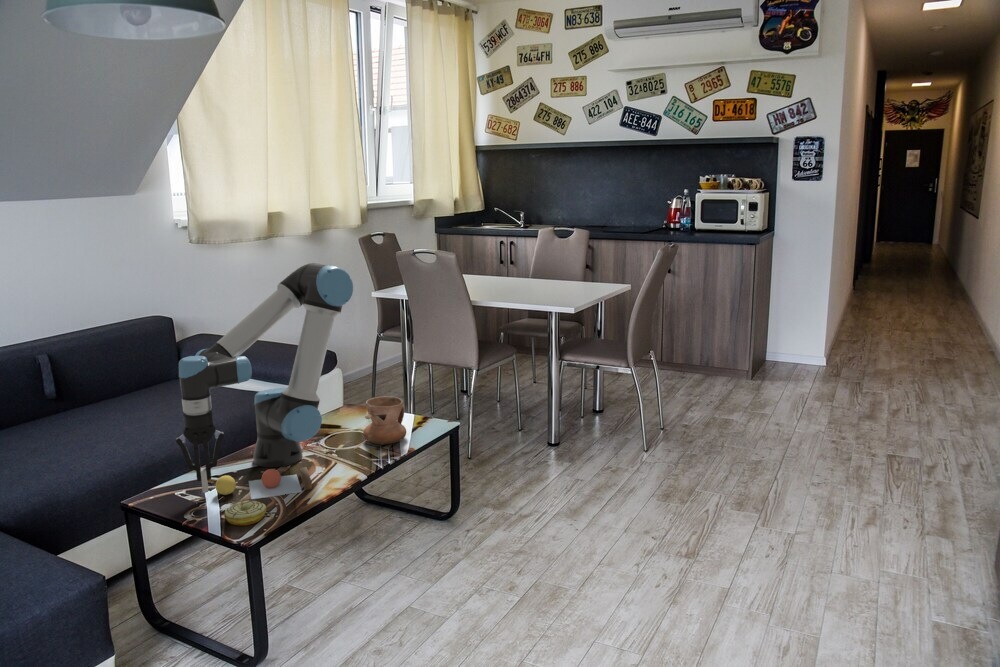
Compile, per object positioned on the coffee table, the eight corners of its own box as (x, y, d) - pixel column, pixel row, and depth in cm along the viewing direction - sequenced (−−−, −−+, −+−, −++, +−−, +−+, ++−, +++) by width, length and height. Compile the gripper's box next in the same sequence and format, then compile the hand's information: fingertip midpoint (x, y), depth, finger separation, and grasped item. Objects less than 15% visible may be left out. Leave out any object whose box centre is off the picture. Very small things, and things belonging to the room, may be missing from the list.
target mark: (296, 474, 240) (296, 474, 240) (301, 492, 227) (301, 491, 227) (248, 481, 236) (248, 481, 236) (251, 499, 223) (251, 499, 223)
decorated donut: (262, 507, 218) (261, 494, 217) (270, 522, 209) (269, 509, 208) (223, 515, 213) (221, 502, 213) (229, 531, 204) (228, 517, 203)
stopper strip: (307, 474, 240) (306, 466, 240) (312, 489, 229) (311, 481, 229) (300, 475, 240) (299, 467, 239) (305, 490, 229) (304, 482, 228)
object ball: (256, 474, 232) (268, 487, 234) (258, 480, 227) (269, 494, 229) (272, 462, 233) (283, 476, 235) (274, 469, 228) (285, 482, 230)
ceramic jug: (382, 452, 258) (381, 410, 256) (352, 443, 267) (350, 402, 264) (419, 437, 273) (419, 398, 270) (389, 429, 281) (388, 391, 278)
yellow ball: (211, 479, 227) (221, 494, 229) (211, 486, 222) (222, 501, 224) (229, 469, 229) (239, 483, 230) (229, 475, 223) (239, 491, 225)
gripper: (172, 418, 214) (180, 499, 219) (222, 412, 219) (230, 492, 223) (172, 410, 221) (181, 489, 226) (221, 405, 225) (229, 482, 230)
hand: (205, 490), depth 225 cm, fingers closed
